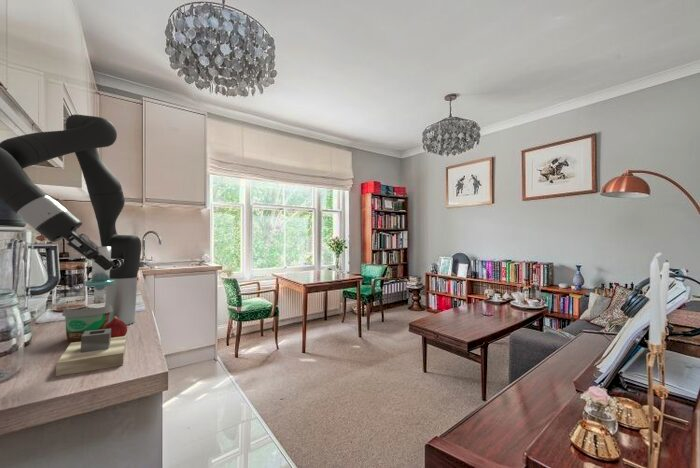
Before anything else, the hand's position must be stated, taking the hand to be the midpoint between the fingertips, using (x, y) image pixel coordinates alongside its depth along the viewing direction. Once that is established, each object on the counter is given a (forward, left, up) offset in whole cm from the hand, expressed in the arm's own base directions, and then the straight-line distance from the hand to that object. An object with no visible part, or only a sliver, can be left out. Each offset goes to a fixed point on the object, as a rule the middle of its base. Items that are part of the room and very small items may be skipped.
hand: (111, 267), depth 79 cm
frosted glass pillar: (0, -2, -9) cm, 10 cm away
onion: (-13, +1, -24) cm, 27 cm away
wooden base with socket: (0, -2, -24) cm, 24 cm away
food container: (-21, -7, -24) cm, 33 cm away
